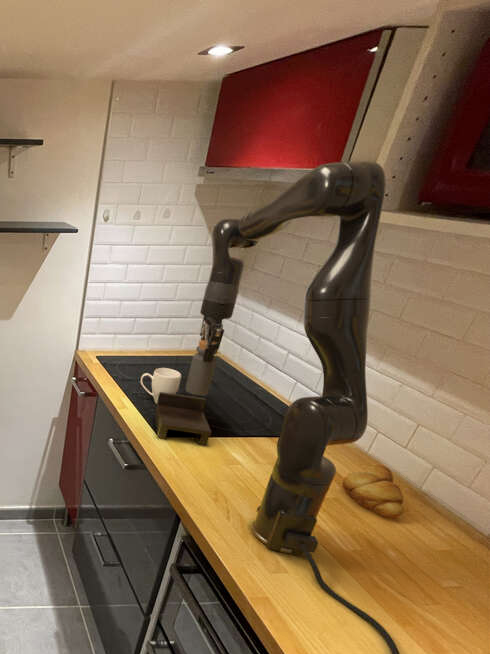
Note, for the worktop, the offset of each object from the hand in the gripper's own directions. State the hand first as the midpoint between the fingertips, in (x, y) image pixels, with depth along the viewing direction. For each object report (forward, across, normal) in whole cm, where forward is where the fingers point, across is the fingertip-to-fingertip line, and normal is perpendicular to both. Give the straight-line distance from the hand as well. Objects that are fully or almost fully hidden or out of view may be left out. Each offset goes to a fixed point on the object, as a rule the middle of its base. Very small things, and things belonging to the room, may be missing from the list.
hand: (204, 357), depth 124 cm
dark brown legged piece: (+25, -1, -2) cm, 25 cm away
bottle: (+11, 0, 0) cm, 11 cm away
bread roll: (+25, +20, +37) cm, 49 cm away
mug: (+25, -20, -7) cm, 33 cm away
